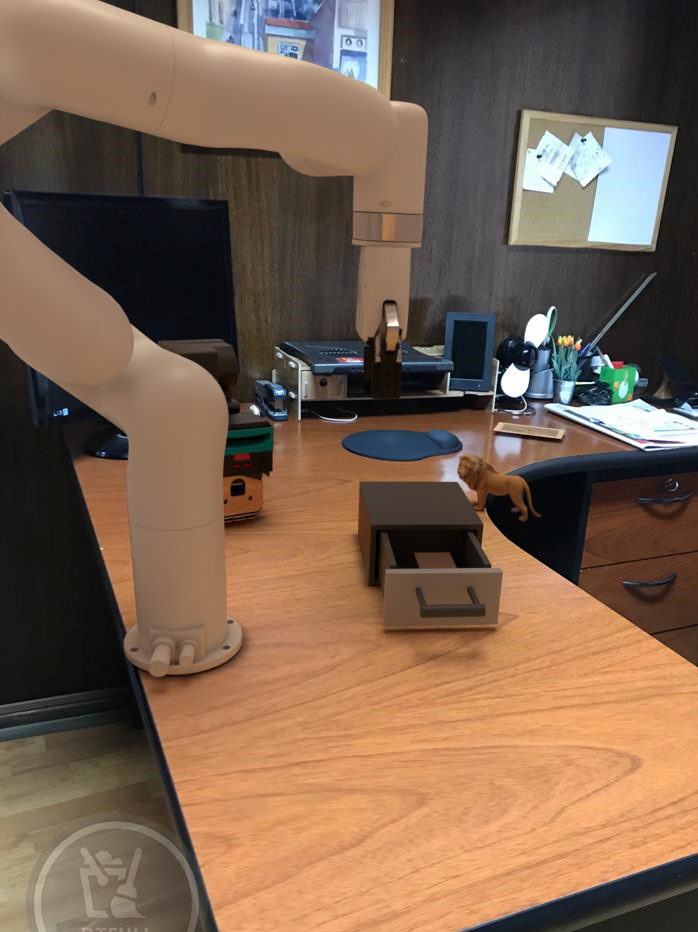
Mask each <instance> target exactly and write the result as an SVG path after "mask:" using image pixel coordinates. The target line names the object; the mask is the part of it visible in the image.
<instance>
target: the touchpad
mask: <svg viewBox="0 0 698 932" xmlns="http://www.w3.org/2000/svg"><path fill="white" fill-rule="evenodd" d="M493 431H494V432H495V431H496V432H503V433H511V434H518V435H519V434H520V435H527V436H535V437H542V438H550V439H560V440H562V439H563V436H564V434H565V431H566V430H565V429H560V428H558V429H557V428H553V427H552V428H551V427H545V426H544V427H543V426H535V425H531V424H529V425H527V424H518V423H511V422H510V423H509V422H500V421H499V422H498V423H497V424H496V426H495V427H494V429H493Z"/></svg>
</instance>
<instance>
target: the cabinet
mask: <svg viewBox="0 0 698 932" xmlns="http://www.w3.org/2000/svg"><path fill="white" fill-rule="evenodd" d="M358 487H359V488H358V489H359V490H358V518H357V538H358V543H359V548H360V552H361V557H362V562H363V566H364V567H363V568H364V572H365V577H366V580H367V584H368V585H367V586H381V584H380V580H379V576H378V572H377V568H376V555H377V533H378V530H472V531H473V533H474V535H475V536H476V538H477V540H478V542H479V544H480V545H481V547H482V545H483V538H484V537H483V536H484V526H485V525H484V522H483V521H482V519H481V517H480V516H479V513H477V510H475V509H474V506H473V505H472V503H471V501H470V500H469V498H468V497H467V495H466V493H465V492H464V490H463V488H462V486H461V485H460V483H459V482H458V481H397V480H396V481H394V480H393V481H391V480H390V481H389V480H388V481H387V480H386V481H384V480H383V481H381V480H380V481H379V480H377V481H375V480H373V481H372V480H371V481H368V480H367V481H366V480H365V481H364V480H363V481H361V480H360V481H359V486H358ZM482 548H483V547H482Z"/></svg>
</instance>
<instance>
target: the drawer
mask: <svg viewBox="0 0 698 932" xmlns="http://www.w3.org/2000/svg"><path fill="white" fill-rule="evenodd" d="M437 552H450V554H451V556H452V559H453V561H454V563H455V565H456V567H457V568H445V569H413V560H414V553H437ZM376 568H377V572H378V576H379V580H380V584H381V585H380V589H381V593H382V596H383V611H382V623H383V627H425V626H427V627H428V626H429V627H430V626H431V627H432V626H433V627H434V626H476V625H477V626H480V625H498V621H499V611H500V604H501V603H500V602H501V593H502V584H503V575H504V572H503V570H502V568H501V567H492V563H491V561H490V559H489V557H488V555H487V553H486V552H485V551H484V549H483V547H481V545H480V544H479V542H478V540H477V538H476V536H475V535H474V533H473V531H472V530H378V533H377V555H376Z"/></svg>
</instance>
